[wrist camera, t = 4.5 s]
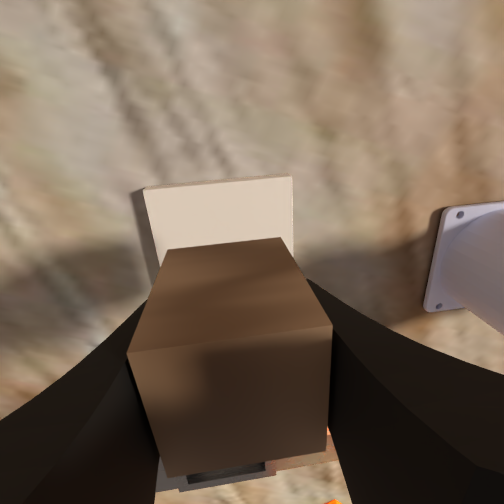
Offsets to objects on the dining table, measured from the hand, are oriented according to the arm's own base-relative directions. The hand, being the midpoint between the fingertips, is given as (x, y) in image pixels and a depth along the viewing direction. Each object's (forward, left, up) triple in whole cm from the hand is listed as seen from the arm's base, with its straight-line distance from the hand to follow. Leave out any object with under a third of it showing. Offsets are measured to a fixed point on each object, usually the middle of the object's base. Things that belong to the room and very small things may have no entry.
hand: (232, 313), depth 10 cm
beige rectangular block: (0, 0, -9) cm, 9 cm away
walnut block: (0, 0, -1) cm, 1 cm away
